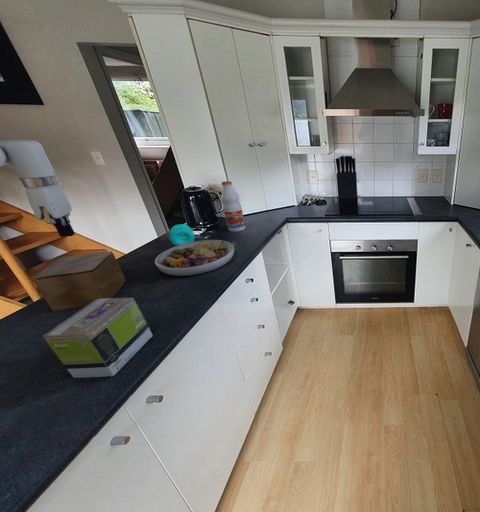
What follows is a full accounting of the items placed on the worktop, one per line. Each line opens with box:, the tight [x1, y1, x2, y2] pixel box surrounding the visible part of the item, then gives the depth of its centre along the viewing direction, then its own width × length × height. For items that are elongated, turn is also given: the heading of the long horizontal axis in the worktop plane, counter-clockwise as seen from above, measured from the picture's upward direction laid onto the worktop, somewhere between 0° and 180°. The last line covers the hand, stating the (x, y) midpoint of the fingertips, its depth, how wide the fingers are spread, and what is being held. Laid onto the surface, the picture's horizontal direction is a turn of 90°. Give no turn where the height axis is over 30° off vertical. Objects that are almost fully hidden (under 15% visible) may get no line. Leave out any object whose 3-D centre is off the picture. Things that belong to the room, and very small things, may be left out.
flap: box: [47, 251, 113, 267], centre depth 99 cm, size 15×8×1 cm, turn 113°
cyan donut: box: [169, 223, 196, 247], centre depth 140 cm, size 10×10×10 cm
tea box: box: [42, 297, 154, 379], centre depth 72 cm, size 15×10×15 cm
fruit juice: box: [220, 180, 246, 233], centre depth 157 cm, size 9×9×28 cm
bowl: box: [154, 239, 235, 277], centre depth 123 cm, size 30×30×8 cm
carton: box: [31, 252, 127, 312], centre depth 98 cm, size 15×16×13 cm
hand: (67, 235), depth 94 cm, fingers closed
